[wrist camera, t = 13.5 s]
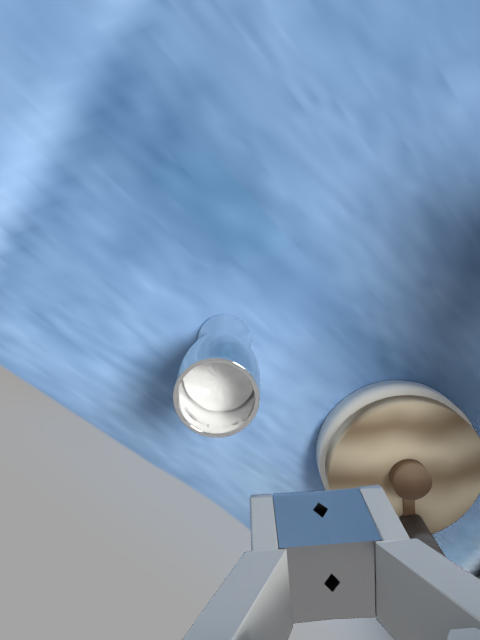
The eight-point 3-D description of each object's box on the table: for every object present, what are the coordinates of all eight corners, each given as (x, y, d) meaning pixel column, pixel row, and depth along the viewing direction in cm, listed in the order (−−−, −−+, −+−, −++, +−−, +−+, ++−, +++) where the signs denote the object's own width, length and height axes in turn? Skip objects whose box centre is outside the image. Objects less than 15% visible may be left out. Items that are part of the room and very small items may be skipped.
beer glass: (193, 368, 44) (170, 439, 30) (193, 309, 43) (168, 354, 28) (254, 369, 44) (260, 441, 30) (256, 310, 43) (264, 356, 28)
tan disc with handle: (318, 405, 42) (335, 446, 34) (476, 385, 42) (530, 422, 34) (331, 534, 46) (349, 597, 39) (475, 518, 46) (522, 578, 38)
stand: (470, 375, 45) (502, 396, 39) (458, 519, 49) (485, 554, 44) (314, 384, 45) (324, 406, 40) (317, 526, 50) (326, 562, 44)
